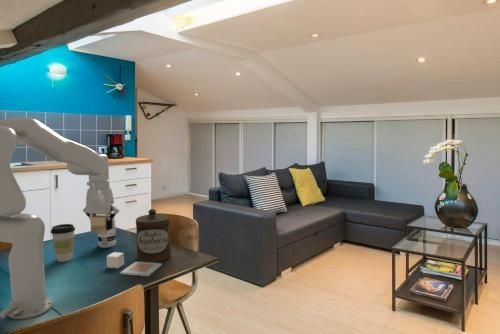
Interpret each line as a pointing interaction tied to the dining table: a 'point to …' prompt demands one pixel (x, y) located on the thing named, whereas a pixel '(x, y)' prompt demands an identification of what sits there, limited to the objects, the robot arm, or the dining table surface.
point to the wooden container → (153, 237)
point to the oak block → (98, 223)
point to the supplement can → (107, 237)
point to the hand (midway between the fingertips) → (102, 228)
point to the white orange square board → (141, 268)
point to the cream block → (115, 260)
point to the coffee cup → (63, 241)
